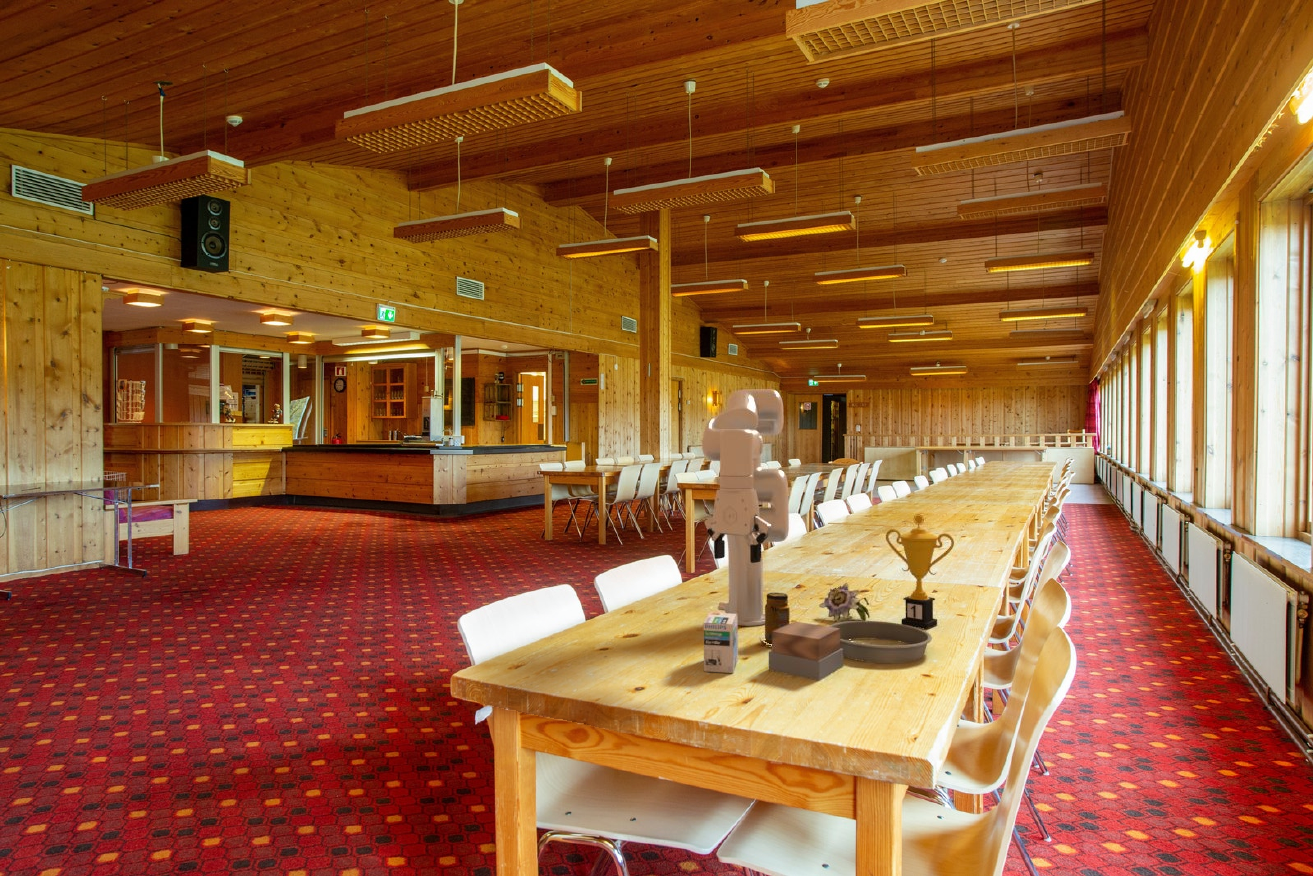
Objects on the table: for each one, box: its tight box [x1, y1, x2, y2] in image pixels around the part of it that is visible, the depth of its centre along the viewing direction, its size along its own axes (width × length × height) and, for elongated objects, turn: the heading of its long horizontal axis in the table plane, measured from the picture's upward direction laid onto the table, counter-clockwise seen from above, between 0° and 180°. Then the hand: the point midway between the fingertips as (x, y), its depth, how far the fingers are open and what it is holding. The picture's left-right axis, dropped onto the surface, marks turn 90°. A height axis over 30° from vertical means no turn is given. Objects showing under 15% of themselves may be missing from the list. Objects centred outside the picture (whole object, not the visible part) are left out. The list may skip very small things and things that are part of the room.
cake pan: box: [828, 620, 933, 664], centre depth 178 cm, size 25×25×4 cm
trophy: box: [885, 514, 955, 630], centre depth 202 cm, size 19×10×30 cm, turn 45°
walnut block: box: [771, 621, 840, 661], centre depth 164 cm, size 11×11×4 cm
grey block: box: [768, 648, 844, 682], centre depth 164 cm, size 12×12×4 cm
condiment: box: [759, 592, 791, 648], centre depth 185 cm, size 7×8×12 cm
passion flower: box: [818, 582, 871, 622], centre depth 210 cm, size 11×11×12 cm
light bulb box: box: [703, 611, 739, 674], centre depth 166 cm, size 11×7×11 cm, turn 168°
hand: (737, 560), depth 167 cm, fingers open, 9 cm apart
